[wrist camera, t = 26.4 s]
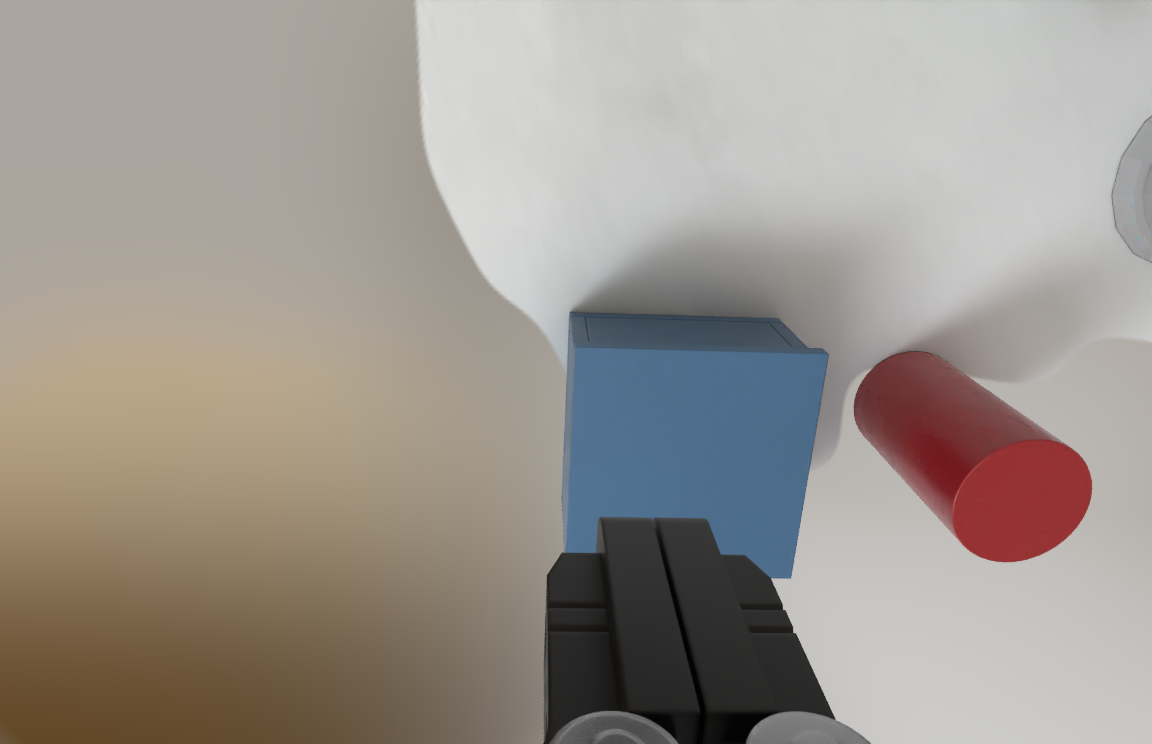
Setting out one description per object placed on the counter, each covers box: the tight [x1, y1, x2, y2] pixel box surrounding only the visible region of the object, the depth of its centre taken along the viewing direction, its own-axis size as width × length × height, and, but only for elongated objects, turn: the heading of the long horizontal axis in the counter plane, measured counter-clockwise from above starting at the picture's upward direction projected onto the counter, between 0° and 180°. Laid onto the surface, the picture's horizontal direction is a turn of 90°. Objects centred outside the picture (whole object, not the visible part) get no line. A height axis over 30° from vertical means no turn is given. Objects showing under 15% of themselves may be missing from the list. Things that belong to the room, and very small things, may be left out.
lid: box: [565, 341, 829, 578], centre depth 37 cm, size 12×12×1 cm
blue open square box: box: [562, 312, 807, 553], centre depth 41 cm, size 12×12×7 cm
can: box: [854, 351, 1092, 562], centre depth 39 cm, size 6×6×12 cm
